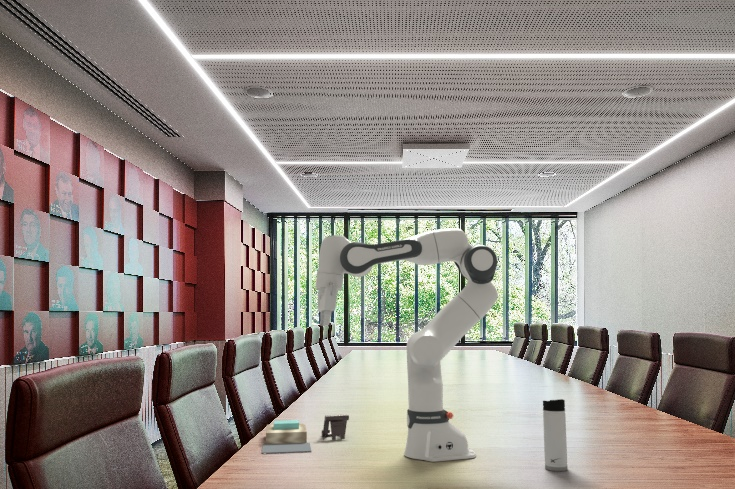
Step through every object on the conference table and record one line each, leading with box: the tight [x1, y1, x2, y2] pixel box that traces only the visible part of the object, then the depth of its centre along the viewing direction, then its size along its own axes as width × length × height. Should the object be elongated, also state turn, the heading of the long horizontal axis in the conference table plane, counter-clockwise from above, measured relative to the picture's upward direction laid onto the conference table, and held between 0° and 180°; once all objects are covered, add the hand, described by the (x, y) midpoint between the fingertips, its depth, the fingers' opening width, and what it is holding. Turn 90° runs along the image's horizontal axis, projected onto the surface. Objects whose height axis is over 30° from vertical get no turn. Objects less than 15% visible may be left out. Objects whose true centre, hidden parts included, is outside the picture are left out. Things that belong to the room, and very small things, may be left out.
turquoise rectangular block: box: [273, 419, 300, 430], centre depth 223 cm, size 9×6×2 cm, turn 98°
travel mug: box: [542, 398, 569, 472], centre depth 179 cm, size 6×7×20 cm
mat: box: [261, 442, 312, 454], centre depth 207 cm, size 16×13×1 cm
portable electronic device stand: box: [321, 413, 350, 441], centre depth 225 cm, size 9×8×8 cm
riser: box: [265, 423, 308, 444], centre depth 221 cm, size 14×16×4 cm
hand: (324, 325), depth 201 cm, fingers open, 8 cm apart
